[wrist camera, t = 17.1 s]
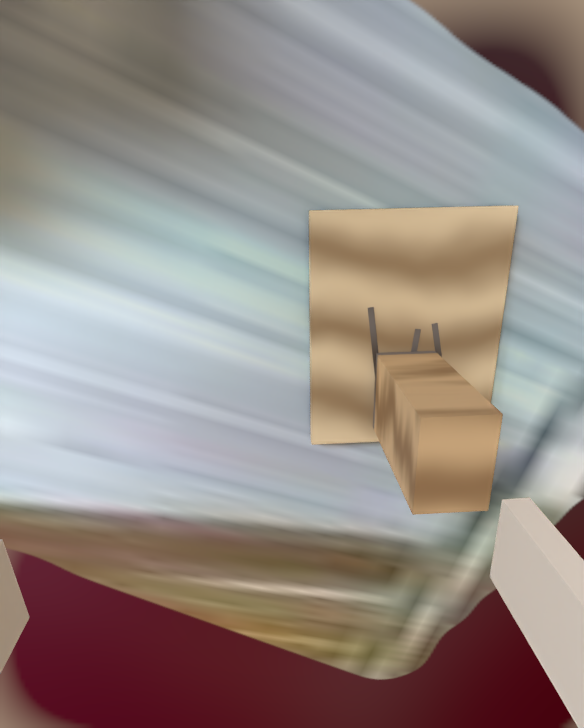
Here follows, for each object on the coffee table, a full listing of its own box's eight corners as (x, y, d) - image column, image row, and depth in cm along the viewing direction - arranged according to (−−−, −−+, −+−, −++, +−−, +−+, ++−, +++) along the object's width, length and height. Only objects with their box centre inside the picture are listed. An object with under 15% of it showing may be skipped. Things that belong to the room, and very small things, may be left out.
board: (308, 210, 36) (310, 210, 35) (510, 205, 36) (518, 205, 35) (310, 437, 43) (311, 444, 42) (480, 430, 43) (486, 436, 42)
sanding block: (376, 352, 39) (420, 417, 28) (434, 350, 39) (502, 414, 28) (372, 427, 41) (412, 514, 30) (427, 424, 41) (487, 510, 30)
